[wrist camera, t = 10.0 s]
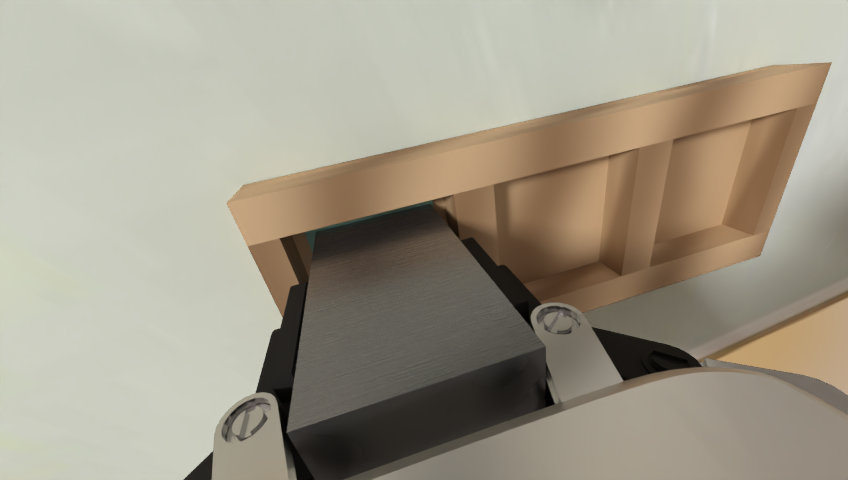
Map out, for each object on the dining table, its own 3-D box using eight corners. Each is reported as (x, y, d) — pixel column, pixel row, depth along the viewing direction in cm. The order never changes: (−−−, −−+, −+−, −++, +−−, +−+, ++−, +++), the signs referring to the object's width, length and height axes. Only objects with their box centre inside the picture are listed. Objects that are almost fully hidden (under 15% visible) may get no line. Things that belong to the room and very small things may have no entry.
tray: (771, 65, 14) (838, 62, 12) (720, 239, 19) (764, 257, 17) (243, 185, 11) (224, 205, 9) (323, 362, 16) (321, 401, 14)
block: (430, 203, 13) (546, 346, 6) (445, 294, 15) (544, 481, 8) (315, 231, 12) (286, 432, 5) (348, 322, 14) (359, 554, 7)
